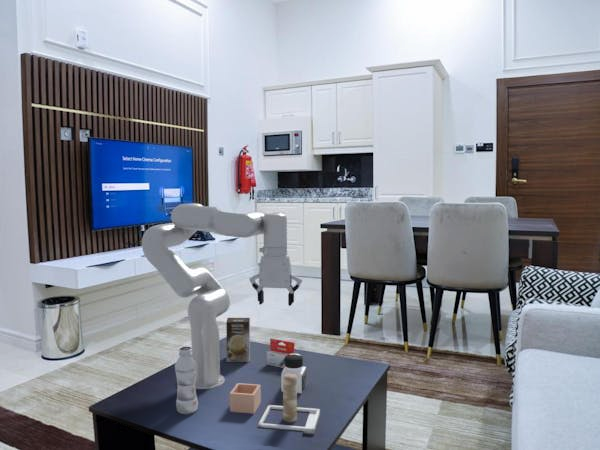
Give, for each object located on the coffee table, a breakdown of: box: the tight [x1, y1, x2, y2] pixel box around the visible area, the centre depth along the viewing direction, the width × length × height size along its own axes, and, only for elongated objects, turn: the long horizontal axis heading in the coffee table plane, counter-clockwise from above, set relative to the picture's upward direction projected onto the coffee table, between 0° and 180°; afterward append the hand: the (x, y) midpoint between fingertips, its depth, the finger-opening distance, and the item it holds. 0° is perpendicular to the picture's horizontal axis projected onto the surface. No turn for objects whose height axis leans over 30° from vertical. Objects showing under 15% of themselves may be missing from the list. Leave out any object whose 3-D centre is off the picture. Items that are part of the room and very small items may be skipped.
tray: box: [257, 404, 321, 435], centre depth 142 cm, size 16×12×2 cm
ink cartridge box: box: [266, 338, 296, 369], centre depth 184 cm, size 2×11×10 cm, turn 61°
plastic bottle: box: [174, 346, 199, 415], centre depth 146 cm, size 6×7×20 cm
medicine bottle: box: [280, 353, 307, 394], centre depth 162 cm, size 7×7×12 cm
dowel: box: [282, 374, 298, 423], centre depth 141 cm, size 4×4×13 cm
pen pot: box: [229, 382, 262, 415], centre depth 149 cm, size 8×8×6 cm
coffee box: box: [225, 317, 251, 363], centre depth 190 cm, size 9×6×16 cm
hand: (275, 304), depth 157 cm, fingers open, 9 cm apart
